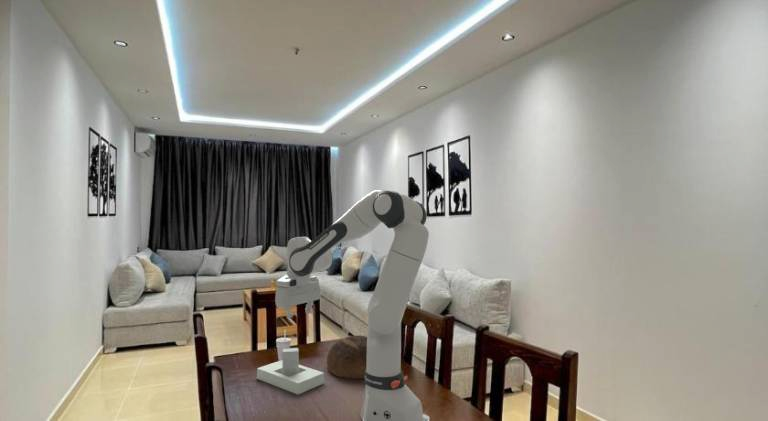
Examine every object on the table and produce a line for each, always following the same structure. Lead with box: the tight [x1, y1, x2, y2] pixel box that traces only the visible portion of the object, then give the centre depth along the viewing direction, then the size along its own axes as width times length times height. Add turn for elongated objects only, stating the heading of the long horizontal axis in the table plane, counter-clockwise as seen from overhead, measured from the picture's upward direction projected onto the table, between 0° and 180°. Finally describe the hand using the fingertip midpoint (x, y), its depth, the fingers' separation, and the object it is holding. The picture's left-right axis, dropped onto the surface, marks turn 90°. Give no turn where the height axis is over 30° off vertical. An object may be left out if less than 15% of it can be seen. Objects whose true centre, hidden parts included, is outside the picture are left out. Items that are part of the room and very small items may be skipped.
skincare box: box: [282, 347, 300, 377], centre depth 167 cm, size 6×4×12 cm
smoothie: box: [275, 329, 292, 361], centre depth 188 cm, size 6×6×14 cm
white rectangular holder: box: [256, 360, 325, 395], centre depth 167 cm, size 23×13×4 cm, turn 53°
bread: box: [326, 335, 367, 380], centre depth 182 cm, size 26×27×13 cm
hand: (299, 315), depth 168 cm, fingers open, 8 cm apart
